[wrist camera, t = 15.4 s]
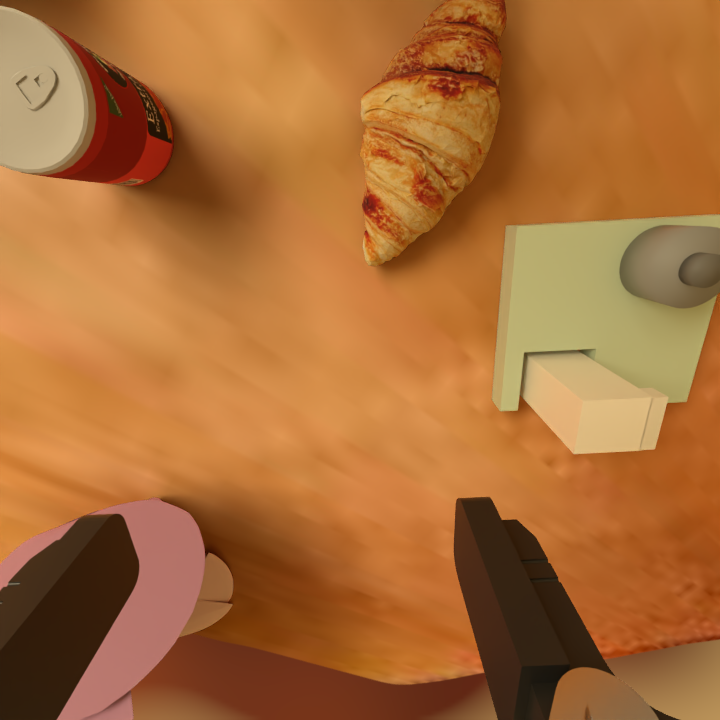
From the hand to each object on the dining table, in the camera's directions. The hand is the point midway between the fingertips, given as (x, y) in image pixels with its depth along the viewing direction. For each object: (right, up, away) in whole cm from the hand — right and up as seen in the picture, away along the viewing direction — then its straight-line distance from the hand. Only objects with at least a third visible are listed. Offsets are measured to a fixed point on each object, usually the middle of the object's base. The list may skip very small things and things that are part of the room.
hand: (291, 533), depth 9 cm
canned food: (-17, +22, +22) cm, 35 cm away
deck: (+24, +9, +27) cm, 37 cm away
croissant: (+6, +22, +22) cm, 32 cm away
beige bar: (+20, +3, +29) cm, 35 cm away
